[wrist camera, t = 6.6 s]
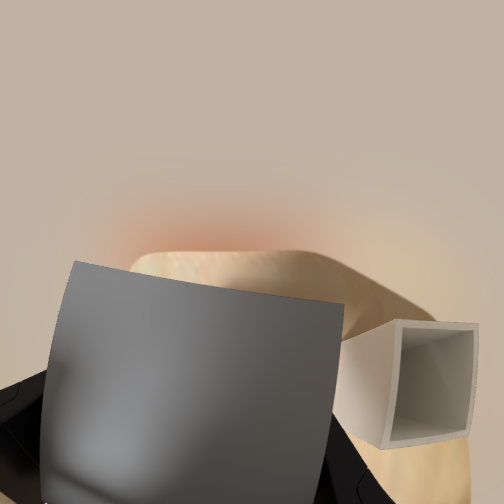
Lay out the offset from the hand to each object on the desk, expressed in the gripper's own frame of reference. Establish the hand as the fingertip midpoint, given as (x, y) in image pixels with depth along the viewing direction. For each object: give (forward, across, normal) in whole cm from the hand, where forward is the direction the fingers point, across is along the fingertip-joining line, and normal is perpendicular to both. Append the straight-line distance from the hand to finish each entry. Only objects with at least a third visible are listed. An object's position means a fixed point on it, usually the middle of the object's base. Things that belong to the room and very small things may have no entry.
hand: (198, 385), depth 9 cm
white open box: (+9, -11, +8) cm, 17 cm away
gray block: (0, 0, +1) cm, 1 cm away
